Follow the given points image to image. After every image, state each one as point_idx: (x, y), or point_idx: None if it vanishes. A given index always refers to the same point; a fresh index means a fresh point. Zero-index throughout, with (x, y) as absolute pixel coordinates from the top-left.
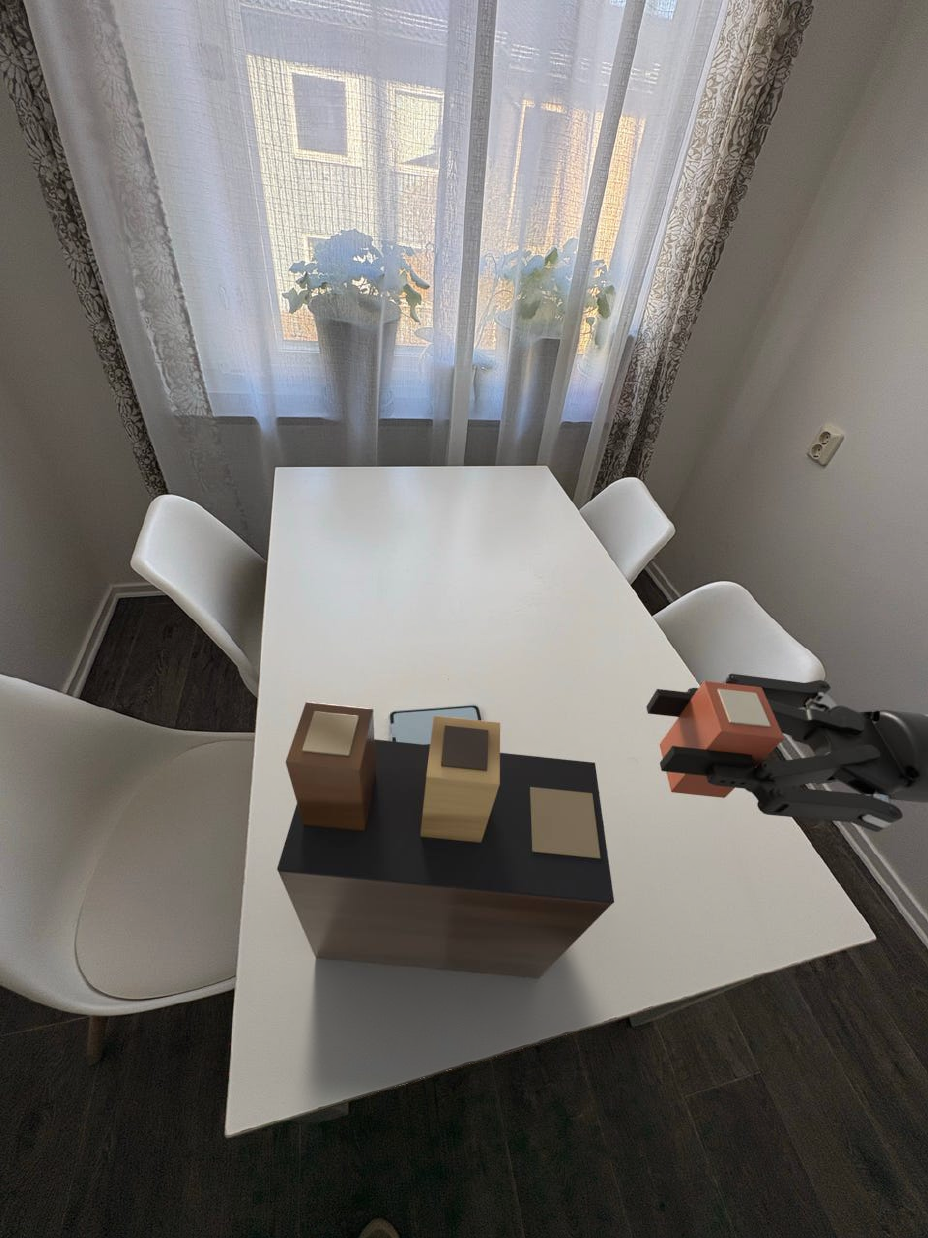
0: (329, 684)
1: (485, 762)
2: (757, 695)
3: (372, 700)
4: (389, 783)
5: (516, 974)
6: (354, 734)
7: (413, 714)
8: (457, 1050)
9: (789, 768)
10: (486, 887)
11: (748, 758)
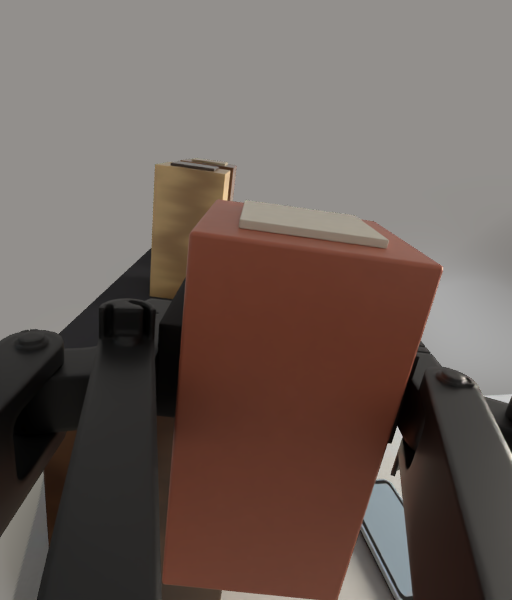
0: (396, 436)
1: (178, 163)
2: (386, 251)
3: (397, 470)
4: None
5: None
6: (209, 162)
7: (397, 503)
8: (29, 551)
9: (116, 400)
10: (104, 293)
11: (176, 320)
